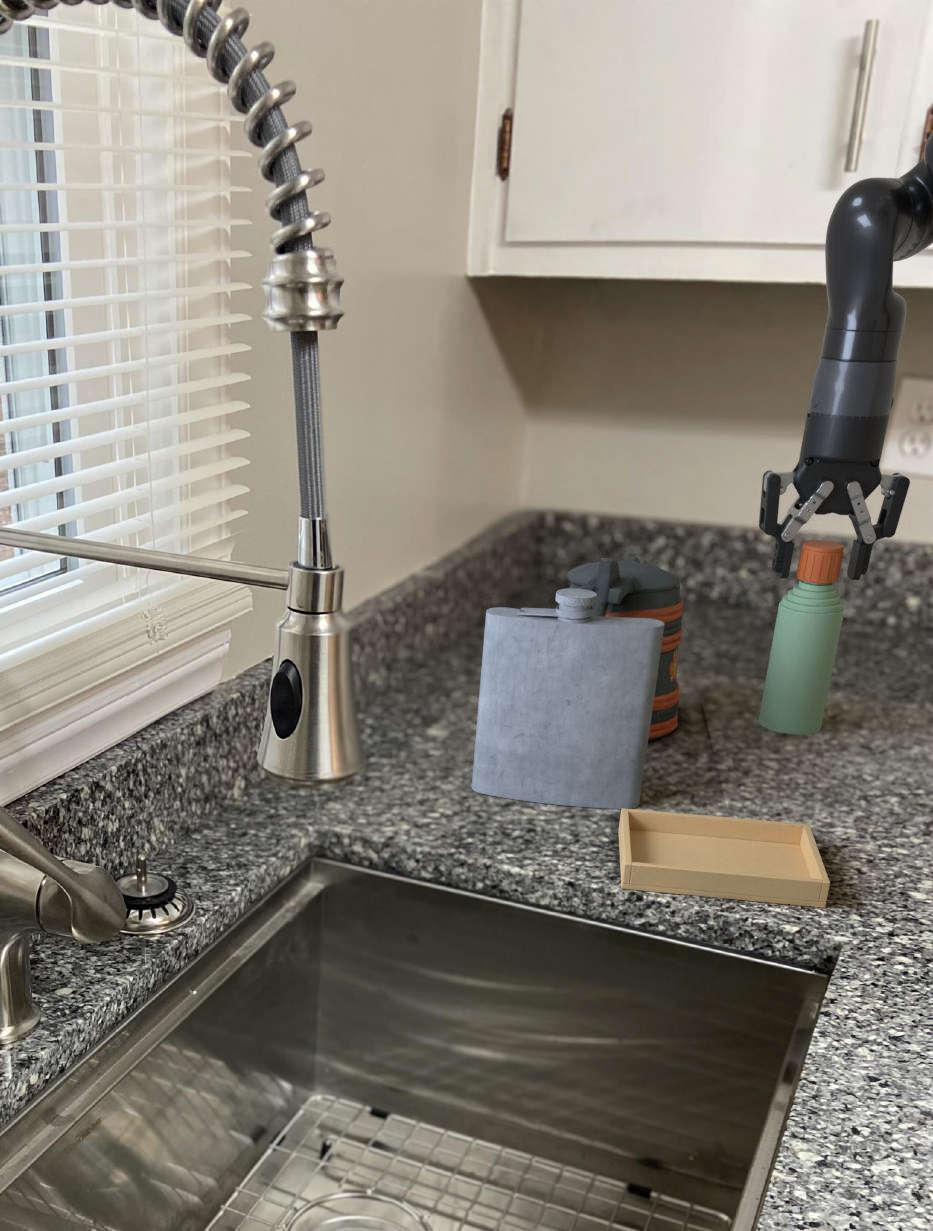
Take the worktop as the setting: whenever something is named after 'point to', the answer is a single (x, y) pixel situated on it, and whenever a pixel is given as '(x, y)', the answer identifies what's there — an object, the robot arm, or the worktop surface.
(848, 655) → the worktop surface
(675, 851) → the tray
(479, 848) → the worktop surface
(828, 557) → the cap
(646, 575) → the beer stein
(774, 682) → the bottle
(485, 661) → the hip flask
